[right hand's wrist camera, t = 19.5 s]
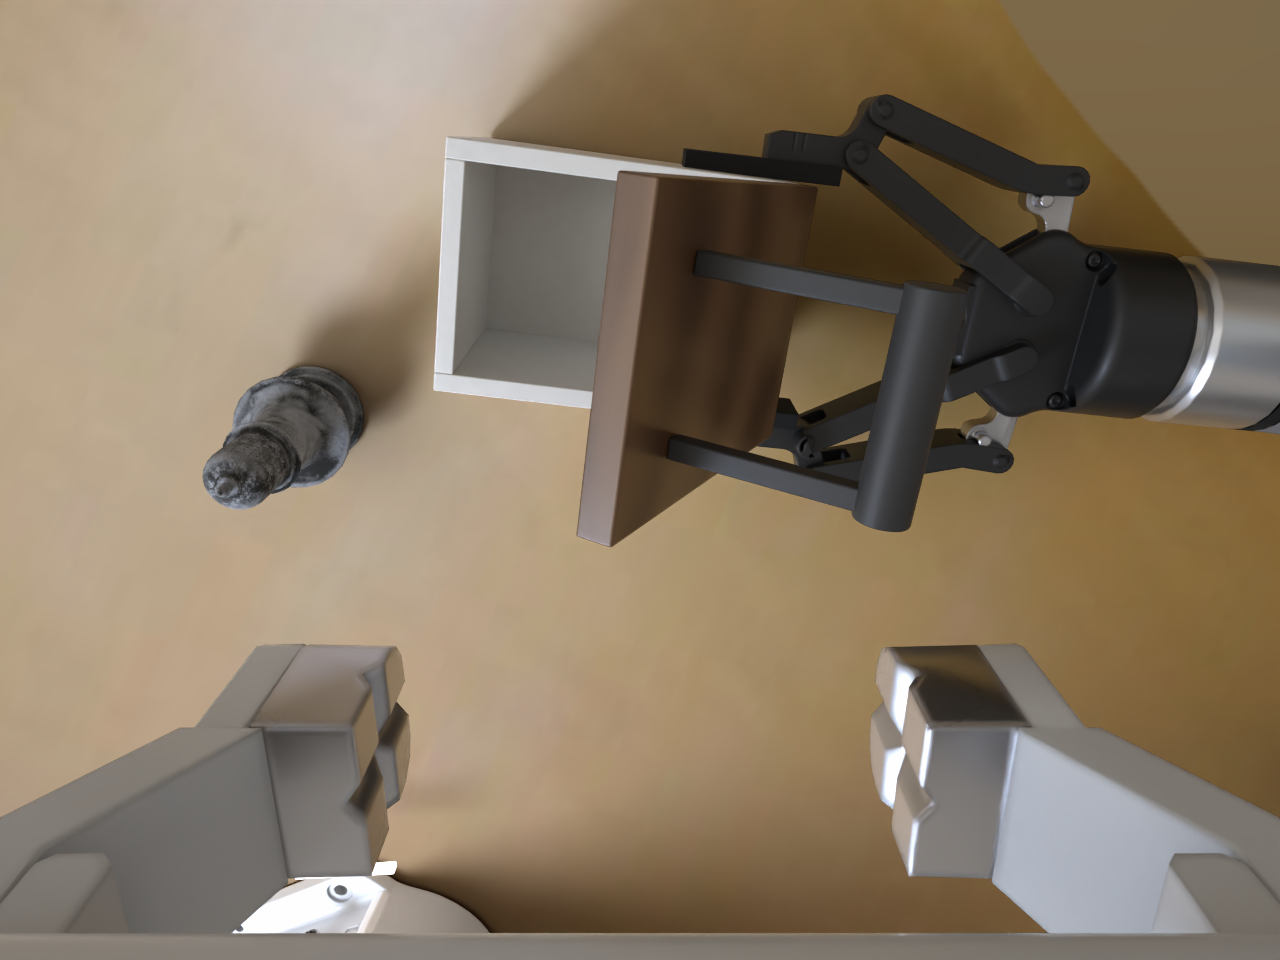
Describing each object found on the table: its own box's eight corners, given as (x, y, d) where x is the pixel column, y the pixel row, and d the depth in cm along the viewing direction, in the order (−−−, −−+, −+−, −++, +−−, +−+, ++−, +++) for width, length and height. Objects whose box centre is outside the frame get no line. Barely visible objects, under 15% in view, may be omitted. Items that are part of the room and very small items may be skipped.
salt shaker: (274, 343, 48) (162, 406, 37) (382, 384, 49) (305, 457, 37) (249, 442, 50) (134, 530, 39) (352, 479, 51) (270, 576, 39)
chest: (472, 338, 48) (432, 390, 38) (484, 137, 44) (445, 136, 34) (728, 369, 49) (756, 428, 39) (760, 174, 45) (800, 184, 35)
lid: (574, 537, 26) (869, 633, 23) (616, 169, 22) (970, 223, 19) (745, 429, 38) (951, 482, 35) (789, 182, 35) (1021, 216, 32)
